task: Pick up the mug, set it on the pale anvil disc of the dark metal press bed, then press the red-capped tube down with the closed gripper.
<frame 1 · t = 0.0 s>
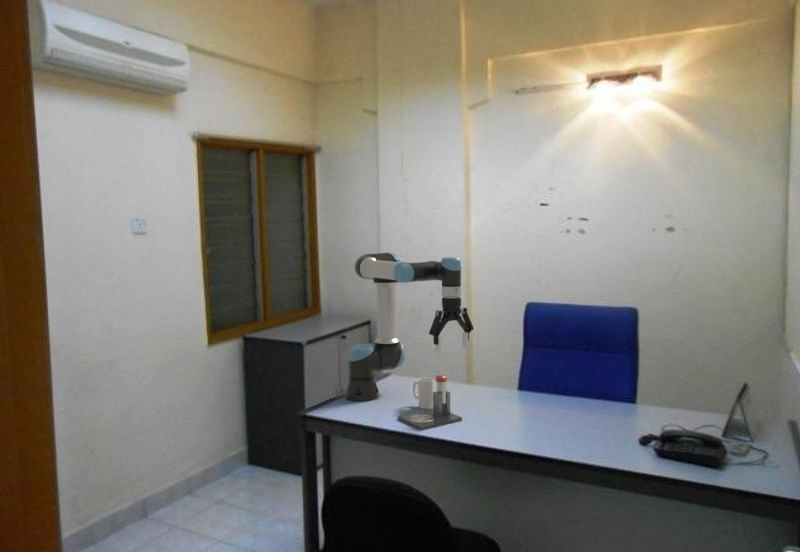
hand: (451, 350, 237), 28 cm above the table, fingers open, 13 cm apart
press: (429, 419, 240), on the table
mug: (422, 406, 258), on the table
red-capped tube: (441, 389, 243), point 11 cm above the table, slide at 0.0 cm
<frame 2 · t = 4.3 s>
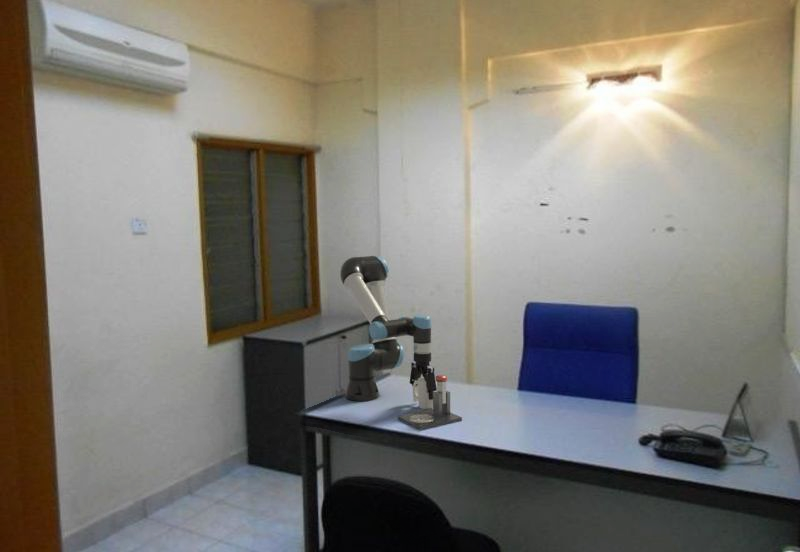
hand: (423, 403, 258), 1 cm above the table, fingers closed on mug, 9 cm apart
mug: (422, 406, 258), on the table, touching gripper
everything else where it was.
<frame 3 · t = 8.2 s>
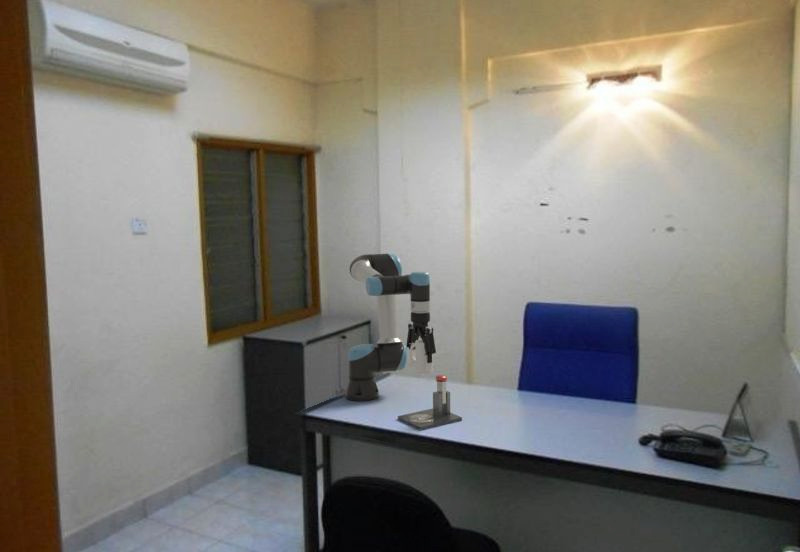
hand: (420, 368, 236), 21 cm above the table, fingers closed on mug, 9 cm apart
mug: (420, 371, 236), point 20 cm above the table, touching gripper
everything else where it was.
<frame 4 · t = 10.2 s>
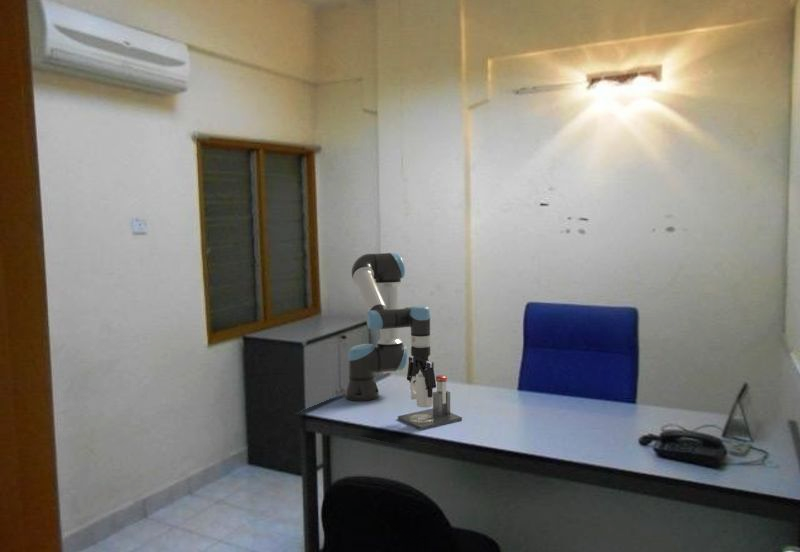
hand: (421, 401, 237), 8 cm above the table, fingers closed on mug, 9 cm apart
mug: (421, 405, 238), point 7 cm above the table, touching gripper
everything else where it was.
when the fingers open (3 cm above the table, at t = 12.2 s): mug stays where it is, resting on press.
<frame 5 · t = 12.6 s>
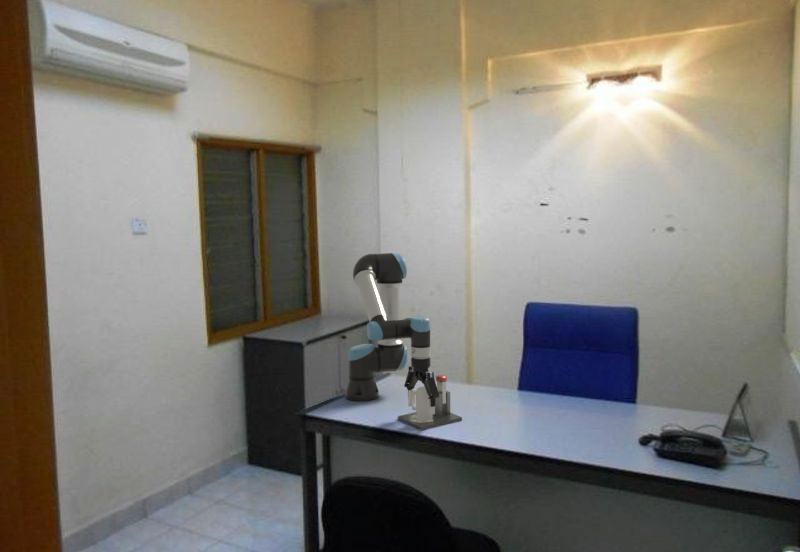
hand: (421, 410, 238), 5 cm above the table, fingers open, 13 cm apart
mug: (421, 418, 238), point 1 cm above the table, touching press
everything else where it was.
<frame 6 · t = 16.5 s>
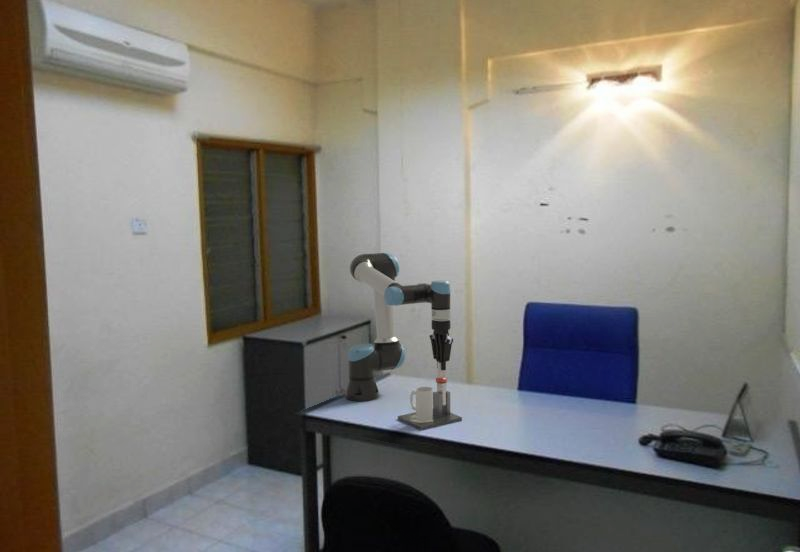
hand: (441, 377, 242), 16 cm above the table, fingers closed
red-capped tube: (441, 391, 243), point 11 cm above the table, slide at 0.7 cm, touching gripper
everything else where it was.
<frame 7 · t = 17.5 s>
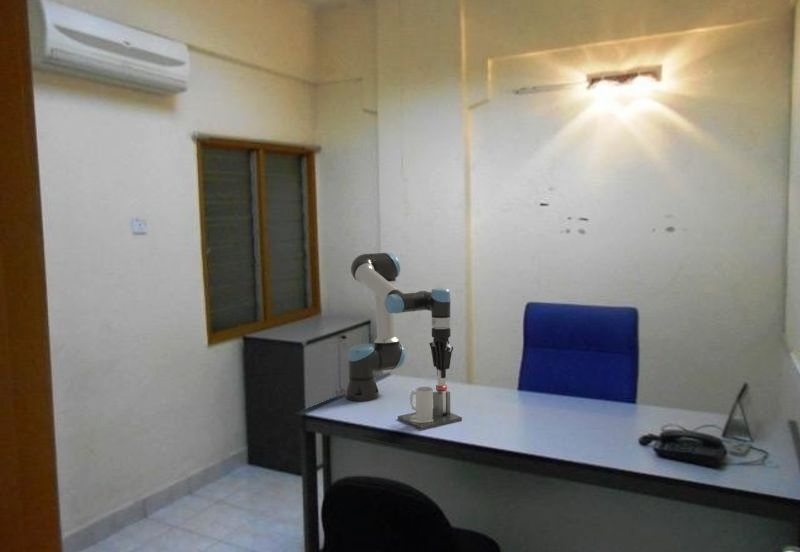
hand: (441, 385, 242), 13 cm above the table, fingers closed
red-capped tube: (441, 398, 243), point 8 cm above the table, slide at 3.8 cm, touching gripper
everything else where it was.
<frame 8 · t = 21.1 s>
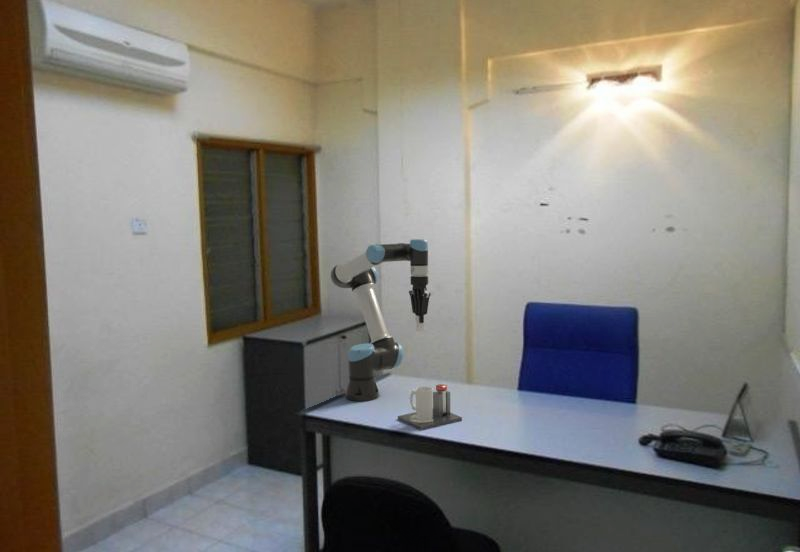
hand: (419, 330, 258), 32 cm above the table, fingers closed
red-capped tube: (441, 398, 243), point 7 cm above the table, slide at 3.8 cm
everything else where it was.
at the end: mug inside the target area (0.2 cm from its centre), point 1.2 cm above the table; mug tilted 0°; red-capped tube slide at 3.8 cm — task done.
